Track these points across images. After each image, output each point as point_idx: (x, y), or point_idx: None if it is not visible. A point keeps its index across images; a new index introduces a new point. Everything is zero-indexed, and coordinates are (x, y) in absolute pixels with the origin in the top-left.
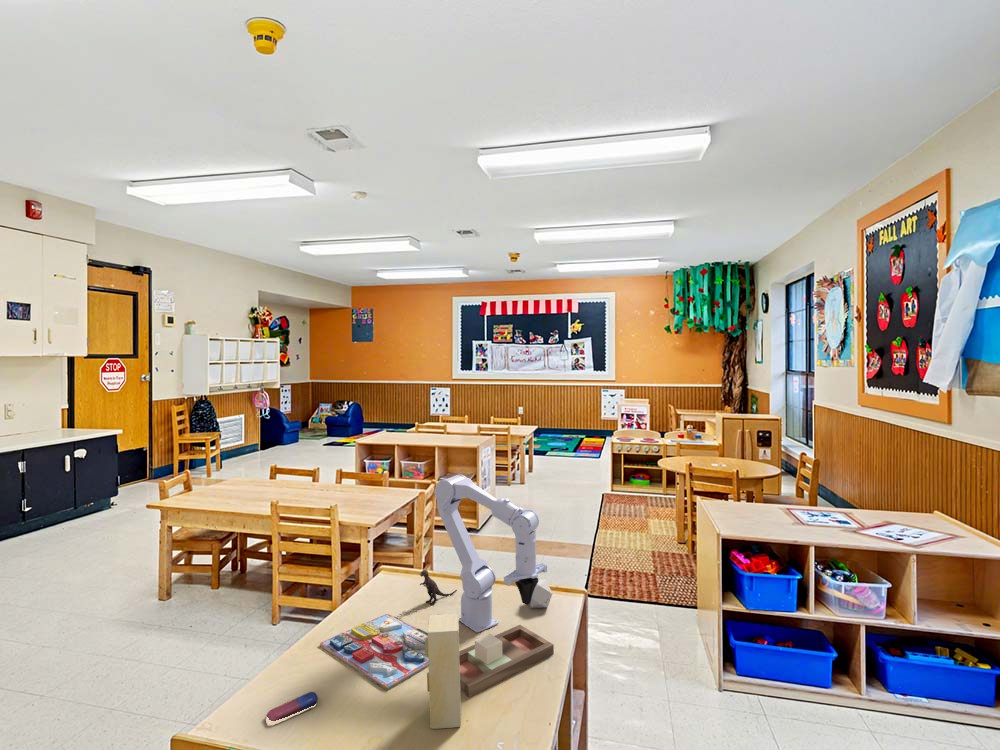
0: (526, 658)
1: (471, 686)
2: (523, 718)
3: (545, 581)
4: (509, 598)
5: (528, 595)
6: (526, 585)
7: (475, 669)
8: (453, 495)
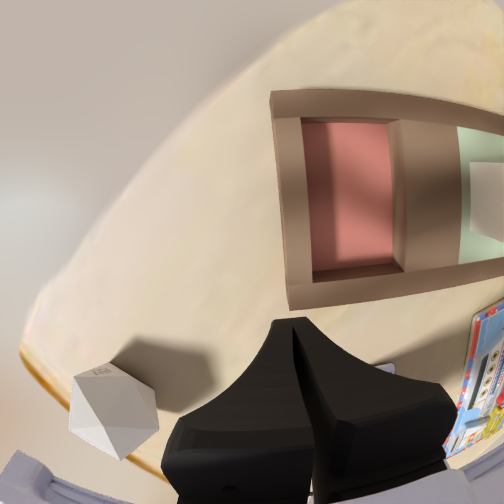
0: (414, 97)
1: None
2: (470, 7)
3: (73, 425)
4: None
5: (317, 346)
6: (442, 392)
7: None
8: None
